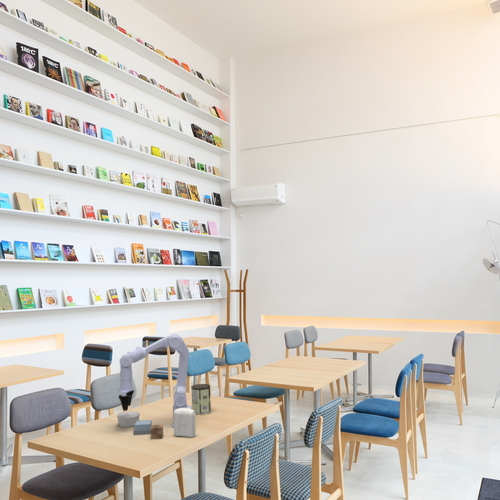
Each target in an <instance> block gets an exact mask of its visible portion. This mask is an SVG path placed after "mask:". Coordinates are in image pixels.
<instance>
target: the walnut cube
mask: <svg viewBox="0 0 500 500" xmlns="http://www.w3.org/2000/svg"><path fill="white" fill-rule="evenodd" d="M163 437H164V424H162V423H161V424H152V427H151V434H150V440H162V439H163Z"/></svg>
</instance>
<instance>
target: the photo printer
mask: <svg viewBox="0 0 500 500" xmlns="http://www.w3.org/2000/svg"><path fill="white" fill-rule="evenodd" d="M173 436H174V437H175V436H176V437H186V438H194V437H196V414H195V411H194V410H192V409H189V408H179V409H176V410H175V411H174V427H173Z"/></svg>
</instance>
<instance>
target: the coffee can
mask: <svg viewBox="0 0 500 500" xmlns="http://www.w3.org/2000/svg"><path fill="white" fill-rule="evenodd" d="M190 388H191V407H192V410H194V411H195V416H200V415H201V416H202V415H208V414H210V413H212V410H211V408H212V405H211V385H210V384H208V383H199V384H198V383H197V384H193V385H191V387H190Z"/></svg>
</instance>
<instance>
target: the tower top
mask: <svg viewBox="0 0 500 500" xmlns="http://www.w3.org/2000/svg"><path fill="white" fill-rule="evenodd" d="M152 425H153V423H152V419H142V420H140V419H139V420H138V421H136V423H135V426H134V428H135V430H150V428H151V426H152Z"/></svg>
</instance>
